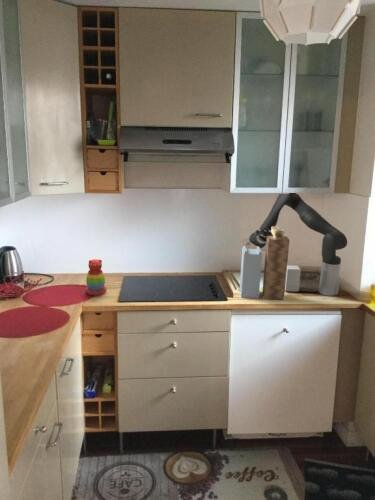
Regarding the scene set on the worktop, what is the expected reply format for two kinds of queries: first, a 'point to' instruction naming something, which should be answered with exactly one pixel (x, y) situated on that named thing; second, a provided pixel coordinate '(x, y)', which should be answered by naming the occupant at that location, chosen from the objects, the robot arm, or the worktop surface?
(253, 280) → the holder
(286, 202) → the robot arm
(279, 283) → the walnut block
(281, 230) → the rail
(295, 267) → the supplement box
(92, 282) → the stacking bear
